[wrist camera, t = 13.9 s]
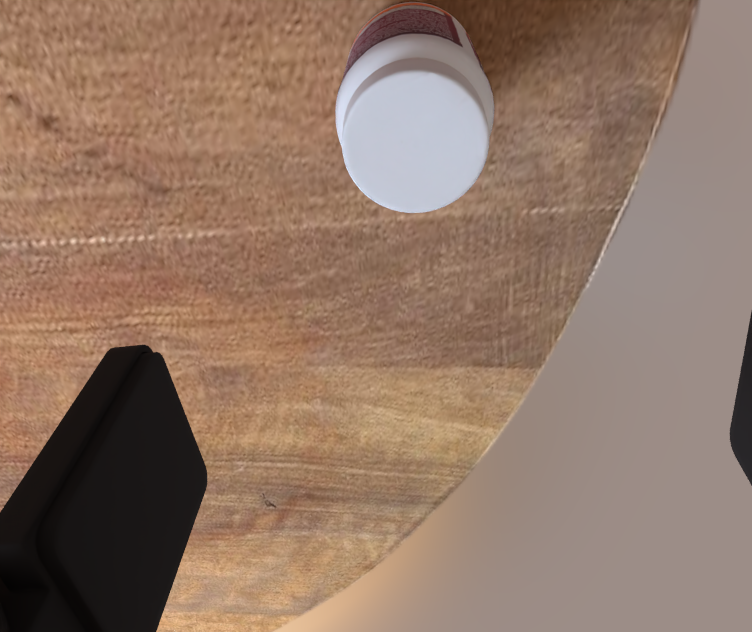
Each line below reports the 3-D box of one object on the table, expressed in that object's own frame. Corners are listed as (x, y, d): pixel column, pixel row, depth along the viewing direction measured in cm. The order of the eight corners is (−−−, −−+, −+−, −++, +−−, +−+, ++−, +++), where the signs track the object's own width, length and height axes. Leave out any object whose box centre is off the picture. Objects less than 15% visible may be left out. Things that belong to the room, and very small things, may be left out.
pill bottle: (322, 77, 25) (291, 156, 18) (405, -31, 23) (406, 11, 16) (416, 156, 27) (421, 257, 20) (502, 62, 25) (541, 136, 18)
